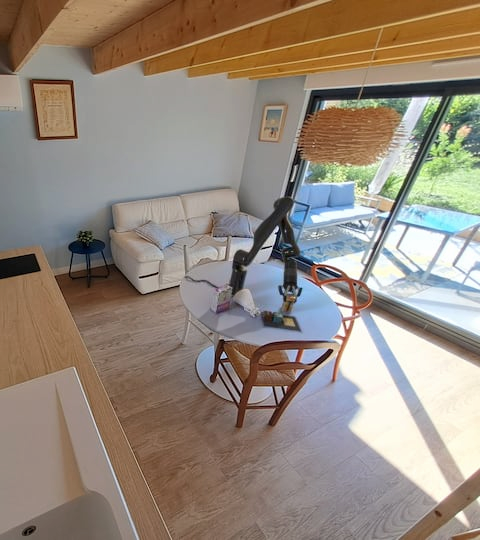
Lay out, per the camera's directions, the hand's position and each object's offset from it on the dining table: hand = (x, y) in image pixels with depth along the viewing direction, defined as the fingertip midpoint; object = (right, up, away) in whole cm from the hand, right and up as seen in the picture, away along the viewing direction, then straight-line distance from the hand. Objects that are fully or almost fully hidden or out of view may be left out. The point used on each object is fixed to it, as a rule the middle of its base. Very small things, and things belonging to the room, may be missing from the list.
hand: (289, 302), depth 177 cm
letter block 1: (-15, -10, -2) cm, 18 cm away
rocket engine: (-25, -5, +8) cm, 26 cm away
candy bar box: (-41, -6, +8) cm, 42 cm away
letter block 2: (-10, -11, -3) cm, 15 cm away
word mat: (-8, -11, -4) cm, 15 cm away
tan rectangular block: (+1, -6, +6) cm, 8 cm away
